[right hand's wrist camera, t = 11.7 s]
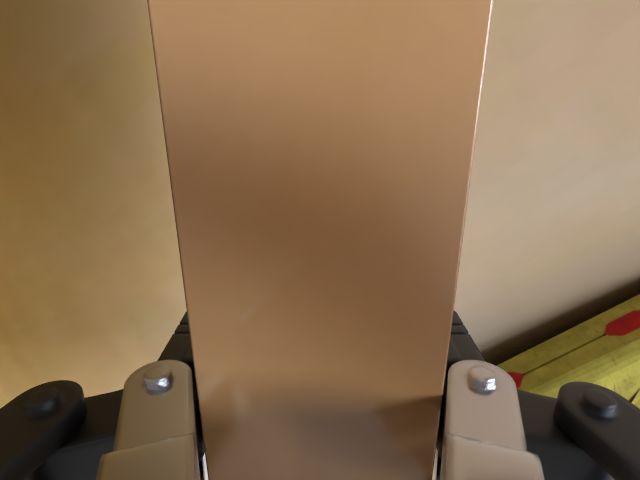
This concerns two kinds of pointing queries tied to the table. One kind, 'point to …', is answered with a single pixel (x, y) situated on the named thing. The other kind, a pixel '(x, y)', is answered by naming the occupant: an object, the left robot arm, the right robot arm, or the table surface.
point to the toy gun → (586, 356)
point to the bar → (320, 222)
